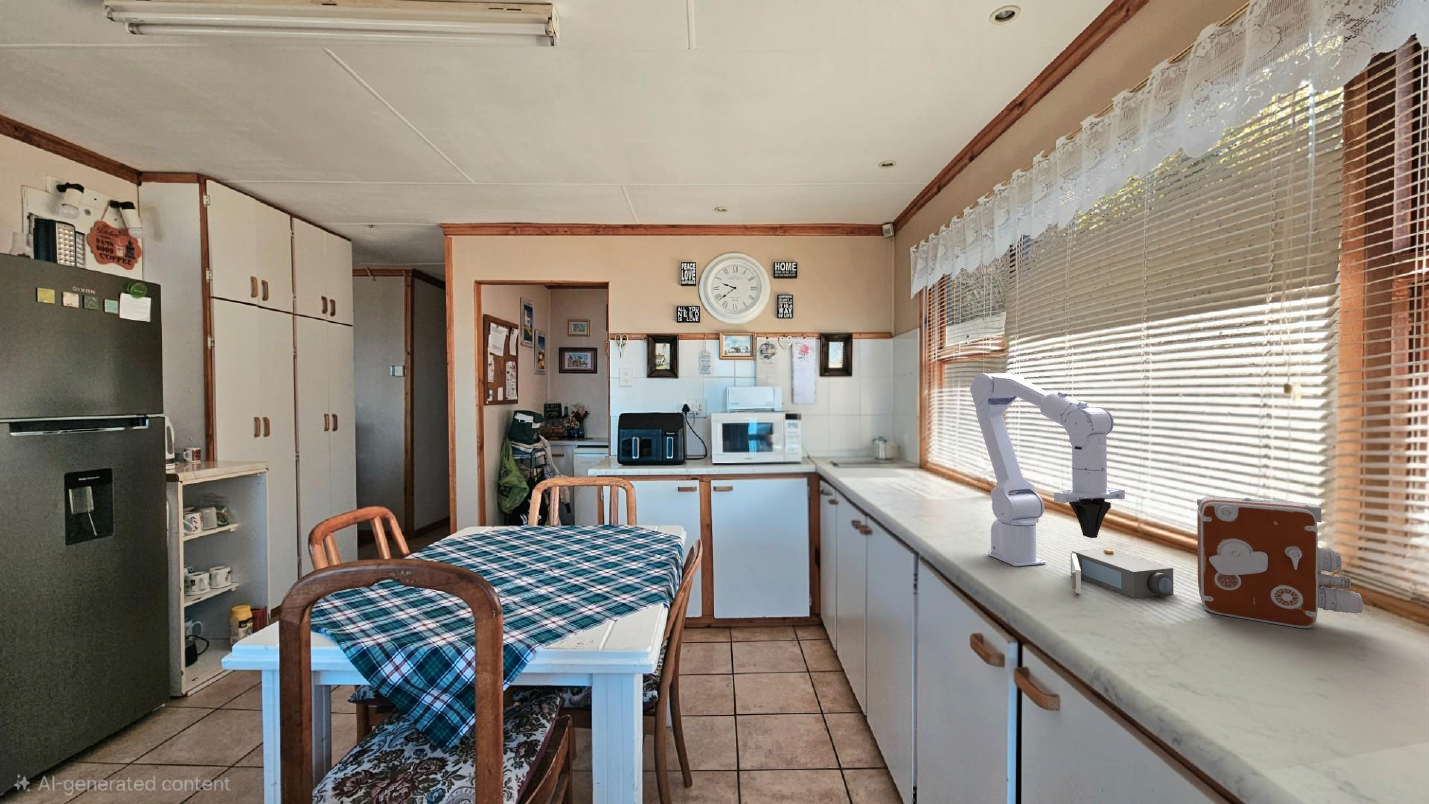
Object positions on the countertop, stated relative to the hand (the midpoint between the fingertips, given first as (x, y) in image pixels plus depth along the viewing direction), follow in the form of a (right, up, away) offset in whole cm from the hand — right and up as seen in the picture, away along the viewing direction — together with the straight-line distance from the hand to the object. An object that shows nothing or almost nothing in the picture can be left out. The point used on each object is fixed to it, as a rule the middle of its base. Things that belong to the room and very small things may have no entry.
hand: (1090, 536), depth 110 cm
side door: (-2, -10, +2) cm, 10 cm away
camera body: (+7, -10, +1) cm, 12 cm away
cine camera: (+20, -10, -16) cm, 28 cm away
